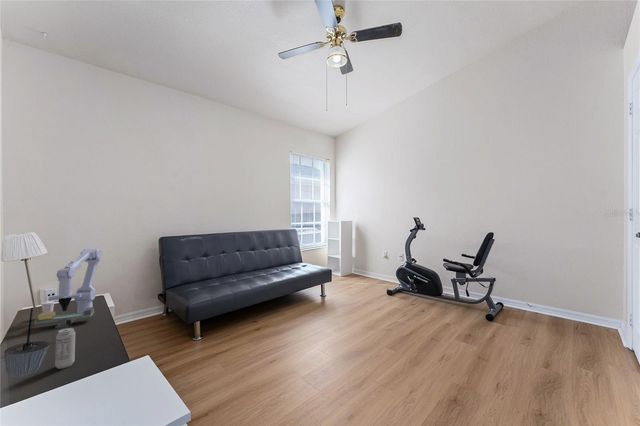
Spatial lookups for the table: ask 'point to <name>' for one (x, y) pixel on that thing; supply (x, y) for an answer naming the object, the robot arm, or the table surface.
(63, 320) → the pivot stand
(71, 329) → the energy drink can
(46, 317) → the block
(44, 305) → the smoothie
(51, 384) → the table surface
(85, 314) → the beam
